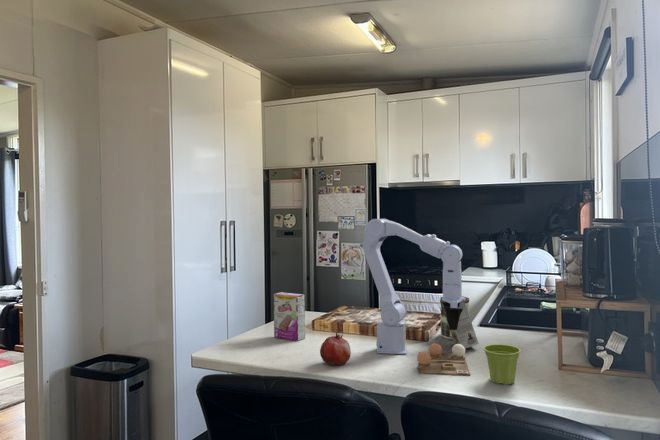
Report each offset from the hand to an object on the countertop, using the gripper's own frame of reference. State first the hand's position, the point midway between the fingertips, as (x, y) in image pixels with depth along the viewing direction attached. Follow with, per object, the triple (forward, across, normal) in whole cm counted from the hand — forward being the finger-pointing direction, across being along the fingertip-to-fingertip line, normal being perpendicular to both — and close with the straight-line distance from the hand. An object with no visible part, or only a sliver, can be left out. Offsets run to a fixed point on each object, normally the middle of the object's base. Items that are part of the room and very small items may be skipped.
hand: (452, 326), depth 153 cm
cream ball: (+7, -3, -2) cm, 7 cm away
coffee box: (+9, +13, -6) cm, 17 cm away
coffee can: (+10, +26, -3) cm, 28 cm away
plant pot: (+10, -21, -12) cm, 26 cm away
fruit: (+10, -11, +35) cm, 38 cm away
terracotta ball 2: (+7, -3, +5) cm, 9 cm away
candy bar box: (+10, +17, +57) cm, 60 cm away
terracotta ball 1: (+7, -13, +9) cm, 17 cm away
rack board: (+10, -8, +3) cm, 13 cm away
